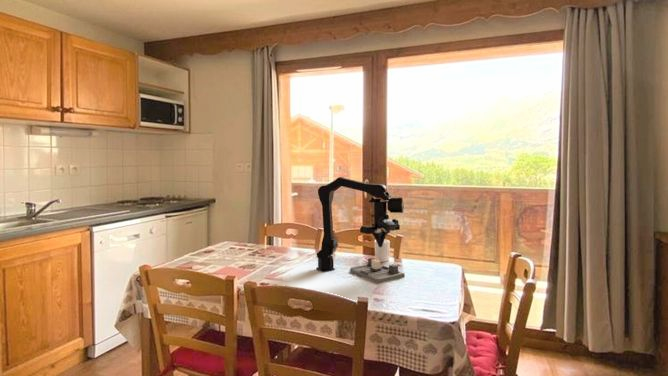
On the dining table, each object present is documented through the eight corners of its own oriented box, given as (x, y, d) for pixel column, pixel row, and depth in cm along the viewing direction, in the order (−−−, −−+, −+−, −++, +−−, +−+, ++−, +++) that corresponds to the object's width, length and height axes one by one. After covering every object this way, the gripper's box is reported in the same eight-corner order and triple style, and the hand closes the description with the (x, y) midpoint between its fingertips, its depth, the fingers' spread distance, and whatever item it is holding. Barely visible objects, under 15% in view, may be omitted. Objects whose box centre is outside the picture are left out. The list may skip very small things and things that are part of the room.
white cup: (389, 262, 201) (389, 242, 200) (373, 261, 202) (373, 242, 202) (390, 258, 209) (390, 239, 208) (375, 257, 210) (375, 238, 209)
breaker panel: (378, 283, 168) (378, 271, 167) (349, 271, 185) (349, 260, 184) (404, 277, 176) (404, 265, 176) (375, 266, 193) (375, 256, 193)
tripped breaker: (376, 272, 177) (376, 261, 177) (370, 270, 181) (370, 259, 180) (381, 271, 179) (381, 260, 179) (375, 269, 182) (375, 258, 182)
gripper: (374, 216, 167) (375, 253, 169) (408, 212, 177) (408, 247, 179) (359, 213, 177) (359, 248, 178) (391, 210, 187) (391, 243, 188)
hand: (380, 246), depth 180 cm, fingers closed
